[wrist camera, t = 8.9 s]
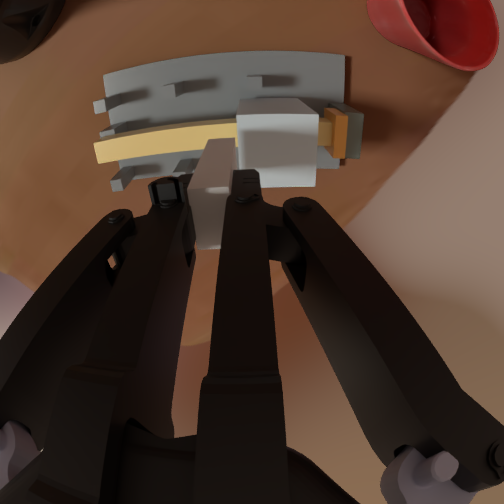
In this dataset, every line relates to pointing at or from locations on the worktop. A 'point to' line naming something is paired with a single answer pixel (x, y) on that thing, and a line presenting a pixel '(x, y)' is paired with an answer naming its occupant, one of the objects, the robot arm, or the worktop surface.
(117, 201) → the worktop surface
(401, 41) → the flower pot
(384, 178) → the worktop surface
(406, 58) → the worktop surface
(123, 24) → the worktop surface
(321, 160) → the cable comb
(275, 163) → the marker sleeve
